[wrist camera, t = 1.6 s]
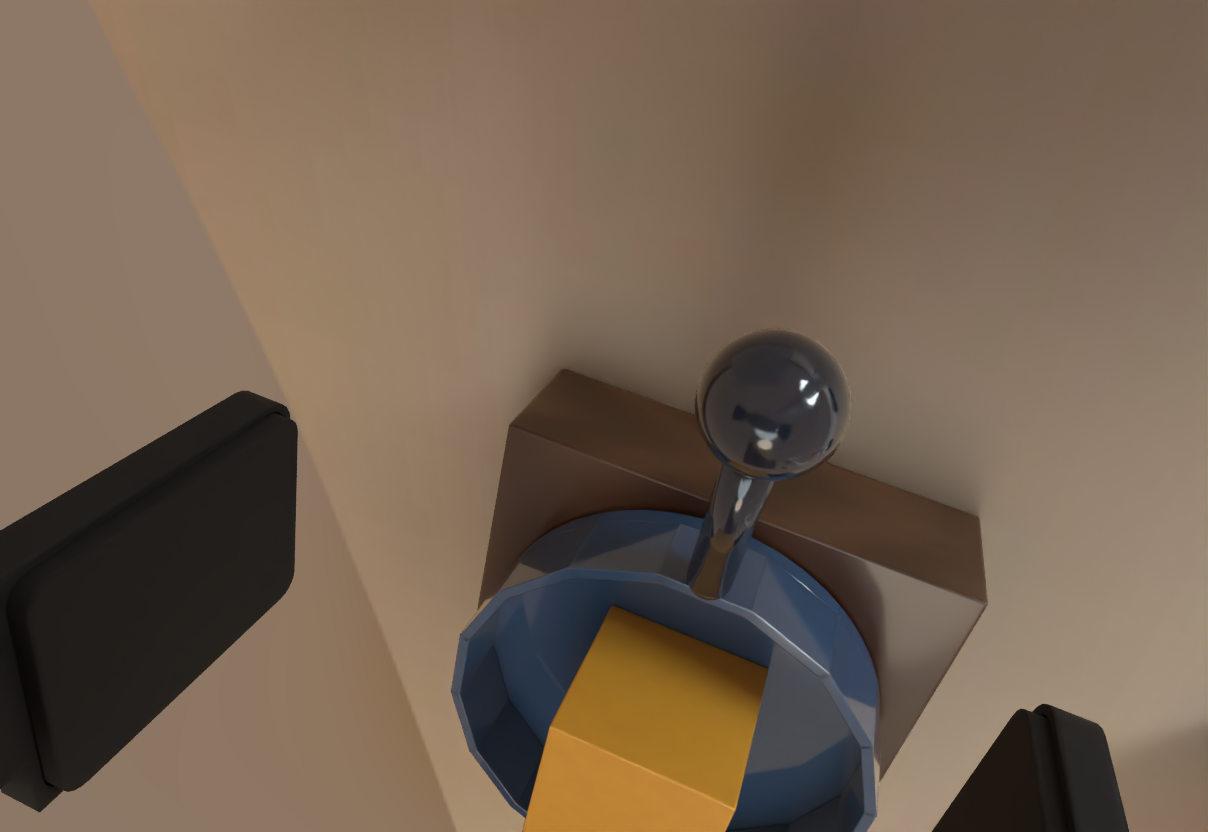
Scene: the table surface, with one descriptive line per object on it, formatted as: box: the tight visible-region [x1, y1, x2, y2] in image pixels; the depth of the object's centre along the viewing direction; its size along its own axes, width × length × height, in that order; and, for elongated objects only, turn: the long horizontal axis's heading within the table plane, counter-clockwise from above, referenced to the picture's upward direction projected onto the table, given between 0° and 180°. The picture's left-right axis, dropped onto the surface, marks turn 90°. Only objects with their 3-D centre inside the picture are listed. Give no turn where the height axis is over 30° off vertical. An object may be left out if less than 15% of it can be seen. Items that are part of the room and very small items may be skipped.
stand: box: [477, 369, 988, 783], centre depth 26 cm, size 13×12×4 cm
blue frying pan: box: [451, 328, 881, 832], centre depth 20 cm, size 12×19×6 cm, turn 167°
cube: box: [522, 605, 768, 832], centre depth 22 cm, size 5×5×5 cm
